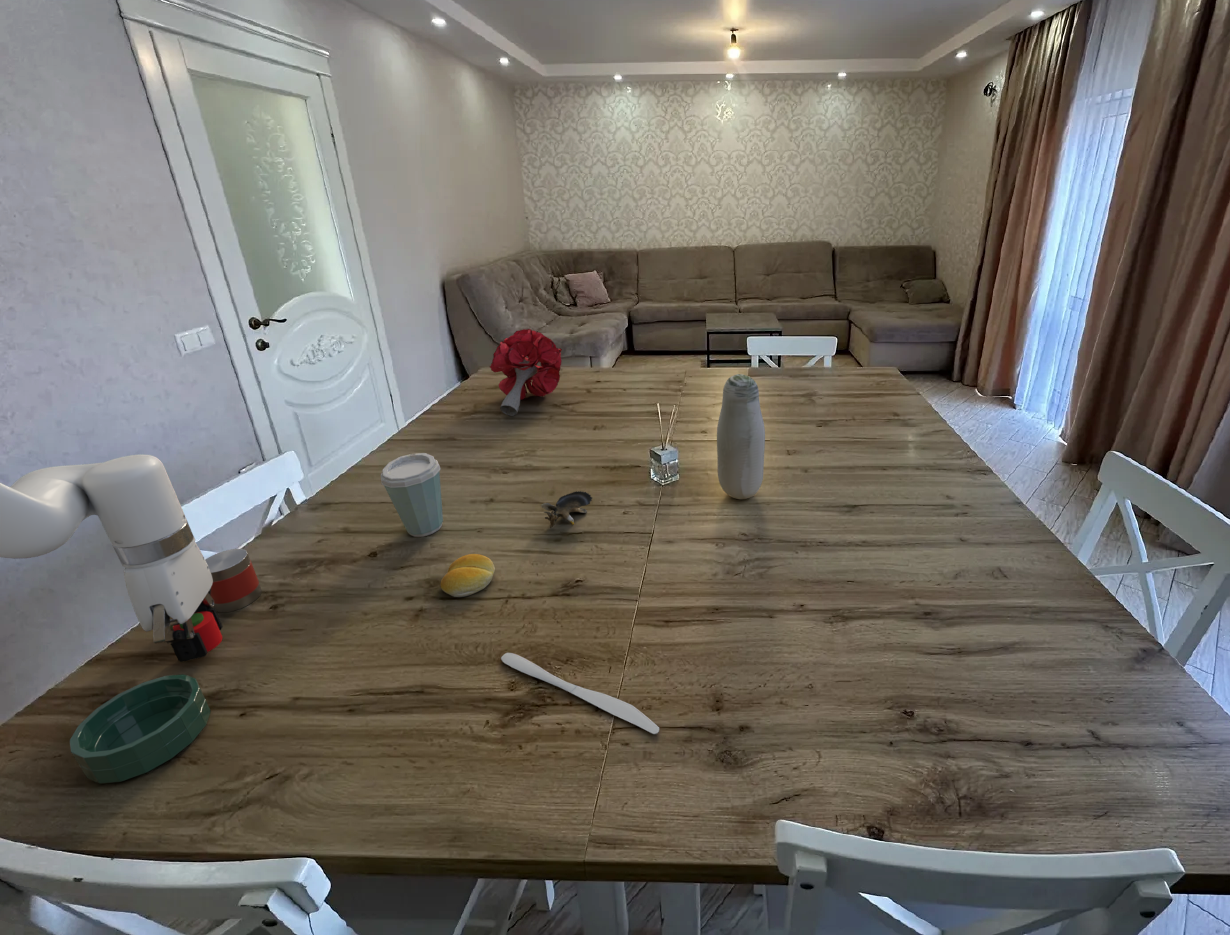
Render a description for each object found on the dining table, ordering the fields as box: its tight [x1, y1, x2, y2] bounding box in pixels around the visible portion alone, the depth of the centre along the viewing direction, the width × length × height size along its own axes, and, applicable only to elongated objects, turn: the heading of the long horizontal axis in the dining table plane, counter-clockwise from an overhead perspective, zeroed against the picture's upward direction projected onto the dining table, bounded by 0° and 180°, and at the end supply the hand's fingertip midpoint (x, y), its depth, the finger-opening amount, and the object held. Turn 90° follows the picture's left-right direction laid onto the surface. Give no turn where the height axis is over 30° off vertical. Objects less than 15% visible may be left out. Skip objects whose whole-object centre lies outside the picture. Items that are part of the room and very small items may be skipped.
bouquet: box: [489, 328, 563, 416], centre depth 176 cm, size 22×24×30 cm
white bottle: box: [716, 373, 766, 500], centre depth 119 cm, size 10×10×28 cm
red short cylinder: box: [173, 611, 223, 653], centre depth 82 cm, size 5×5×5 cm
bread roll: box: [440, 553, 496, 598], centre depth 97 cm, size 8×9×4 cm
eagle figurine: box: [540, 490, 593, 528], centre depth 114 cm, size 8×7×9 cm
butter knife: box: [500, 652, 660, 735], centre depth 76 cm, size 1×27×3 cm
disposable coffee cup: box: [380, 452, 444, 538], centre depth 110 cm, size 11×11×15 cm
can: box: [204, 548, 263, 613], centre depth 93 cm, size 6×6×8 cm
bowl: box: [69, 673, 212, 785], centre depth 69 cm, size 11×11×5 cm
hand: (201, 643), depth 83 cm, fingers closed on red short cylinder, 4 cm apart
